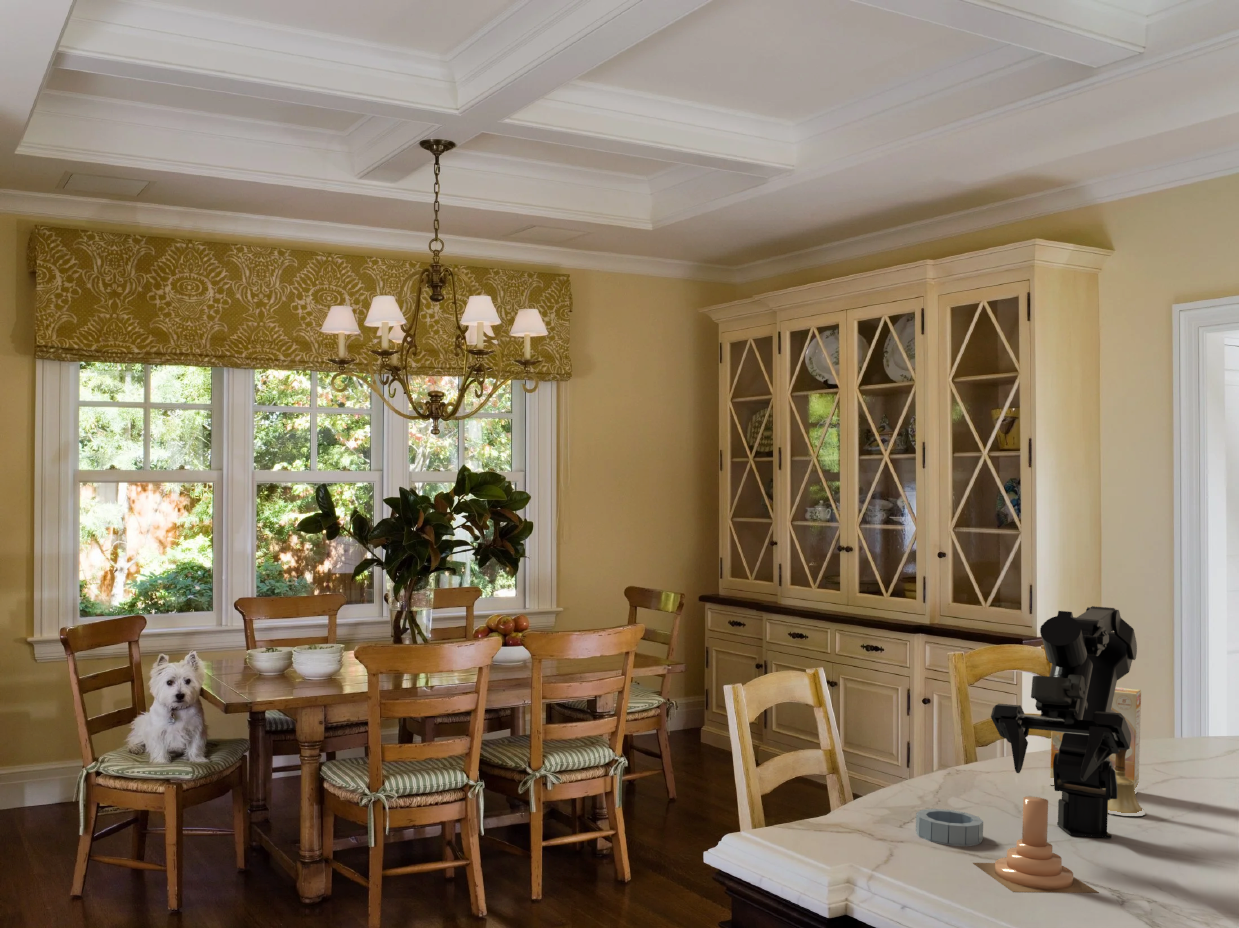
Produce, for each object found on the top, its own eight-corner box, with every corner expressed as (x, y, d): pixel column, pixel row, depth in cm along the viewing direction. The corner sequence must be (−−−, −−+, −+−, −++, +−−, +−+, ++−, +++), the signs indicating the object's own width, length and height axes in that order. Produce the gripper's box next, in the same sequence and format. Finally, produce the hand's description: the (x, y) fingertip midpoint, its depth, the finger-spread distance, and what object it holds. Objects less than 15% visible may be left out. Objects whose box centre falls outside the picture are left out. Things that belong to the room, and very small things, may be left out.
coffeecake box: (1049, 785, 209) (1051, 683, 210) (1055, 779, 215) (1058, 679, 216) (1134, 799, 201) (1137, 692, 202) (1139, 792, 207) (1141, 688, 208)
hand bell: (1084, 804, 195) (1086, 714, 196) (1129, 805, 195) (1130, 716, 196) (1109, 817, 186) (1111, 723, 187) (1155, 818, 187) (1157, 725, 188)
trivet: (1052, 868, 155) (1052, 863, 155) (1099, 897, 143) (1099, 892, 144) (972, 867, 154) (972, 862, 154) (1012, 896, 142) (1013, 891, 142)
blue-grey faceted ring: (972, 833, 172) (972, 811, 172) (989, 851, 162) (990, 827, 162) (910, 829, 172) (911, 807, 172) (924, 847, 163) (925, 823, 163)
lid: (1057, 868, 153) (1060, 792, 154) (1084, 892, 143) (1086, 811, 144) (986, 863, 154) (988, 788, 155) (1007, 886, 144) (1009, 806, 145)
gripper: (991, 650, 167) (968, 737, 158) (1120, 657, 155) (1104, 750, 146) (1012, 694, 173) (991, 779, 164) (1138, 703, 161) (1123, 795, 152)
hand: (1049, 775), depth 157 cm, fingers open, 9 cm apart
